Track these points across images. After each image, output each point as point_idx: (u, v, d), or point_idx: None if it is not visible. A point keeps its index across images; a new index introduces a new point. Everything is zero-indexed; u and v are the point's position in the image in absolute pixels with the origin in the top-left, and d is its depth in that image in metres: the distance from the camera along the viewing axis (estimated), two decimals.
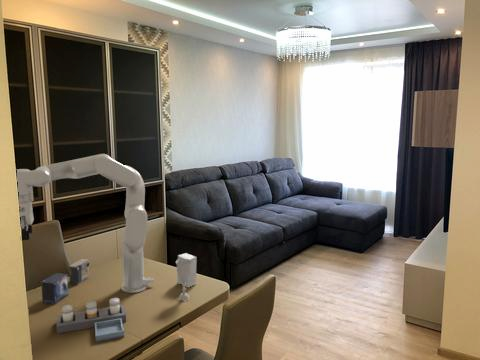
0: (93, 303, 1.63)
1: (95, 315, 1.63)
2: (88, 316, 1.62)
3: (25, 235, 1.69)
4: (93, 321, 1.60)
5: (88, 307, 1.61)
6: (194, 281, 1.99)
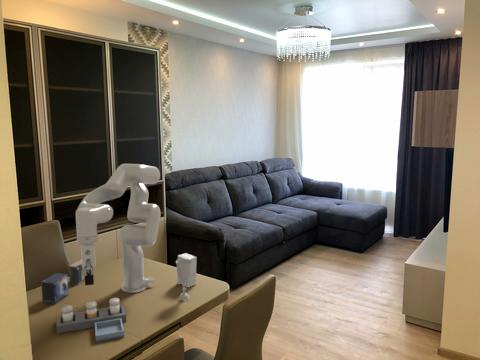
0: (93, 303, 1.63)
1: (95, 315, 1.63)
2: (88, 316, 1.62)
3: (90, 280, 1.55)
4: (93, 321, 1.60)
5: (88, 307, 1.61)
6: (194, 281, 1.99)
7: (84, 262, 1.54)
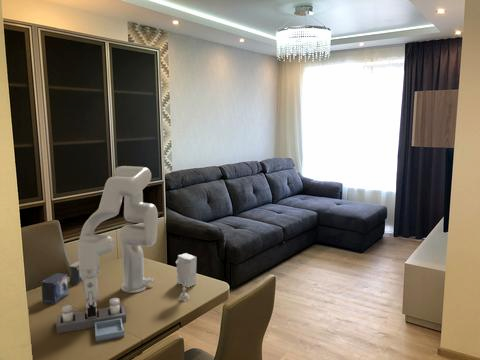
0: None
1: None
2: None
3: (92, 312, 1.60)
4: (93, 321, 1.60)
5: None
6: (194, 281, 1.99)
7: (86, 295, 1.57)
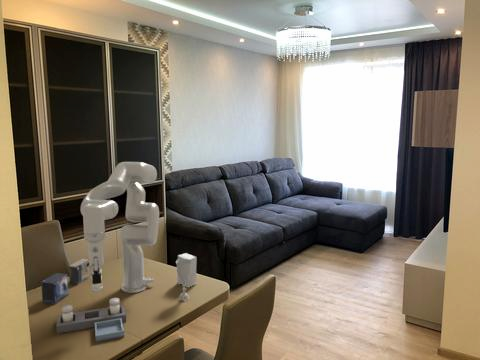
0: None
1: (100, 283, 1.57)
2: None
3: (97, 278, 1.54)
4: (93, 321, 1.60)
5: None
6: (194, 281, 1.99)
7: (91, 260, 1.50)
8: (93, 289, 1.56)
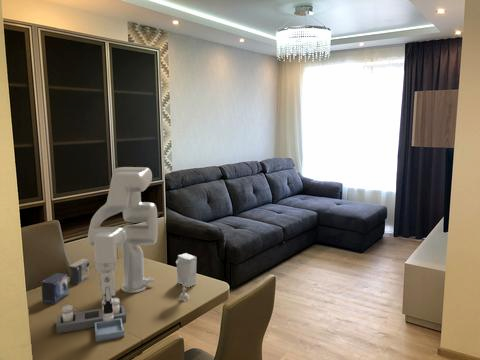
0: None
1: None
2: None
3: (109, 308, 1.51)
4: (93, 321, 1.60)
5: None
6: (194, 281, 1.99)
7: (103, 290, 1.48)
8: (104, 319, 1.53)
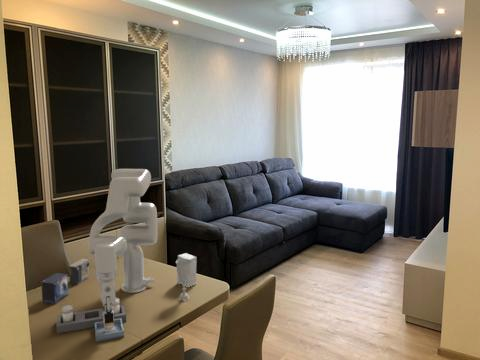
0: None
1: (112, 324, 1.55)
2: (105, 325, 1.54)
3: (110, 318, 1.51)
4: (93, 321, 1.60)
5: None
6: (194, 281, 1.99)
7: (104, 299, 1.49)
8: (105, 331, 1.54)
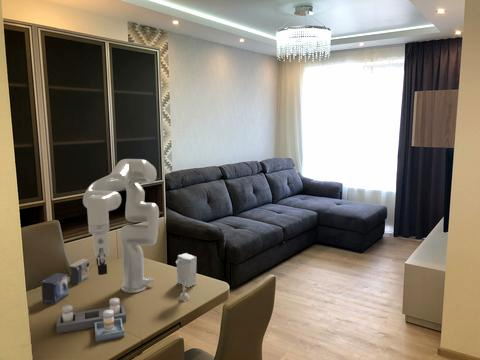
0: (110, 311, 1.55)
1: (112, 324, 1.55)
2: (105, 325, 1.54)
3: (103, 269, 1.51)
4: (93, 321, 1.60)
5: (105, 316, 1.53)
6: (194, 281, 1.99)
7: (97, 251, 1.50)
8: (105, 331, 1.54)
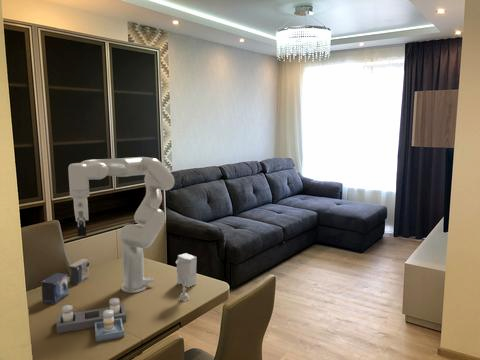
0: (110, 311, 1.55)
1: (112, 324, 1.55)
2: (105, 325, 1.54)
3: (82, 231, 1.64)
4: (93, 321, 1.60)
5: (105, 316, 1.53)
6: (194, 281, 1.99)
7: (77, 214, 1.63)
8: (105, 331, 1.54)
